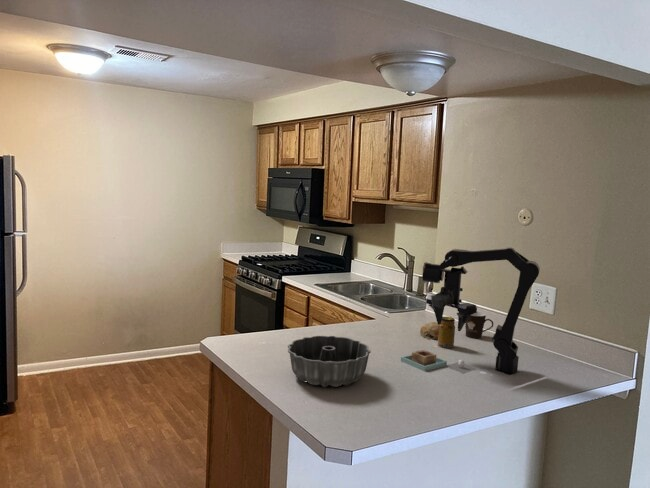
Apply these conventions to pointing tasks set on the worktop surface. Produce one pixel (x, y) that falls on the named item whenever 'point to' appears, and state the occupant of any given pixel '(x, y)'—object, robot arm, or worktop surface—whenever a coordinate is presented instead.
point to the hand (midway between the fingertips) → (449, 327)
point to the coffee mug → (476, 325)
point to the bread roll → (430, 330)
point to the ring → (424, 357)
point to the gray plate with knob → (461, 367)
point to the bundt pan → (328, 360)
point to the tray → (408, 361)
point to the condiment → (446, 333)
